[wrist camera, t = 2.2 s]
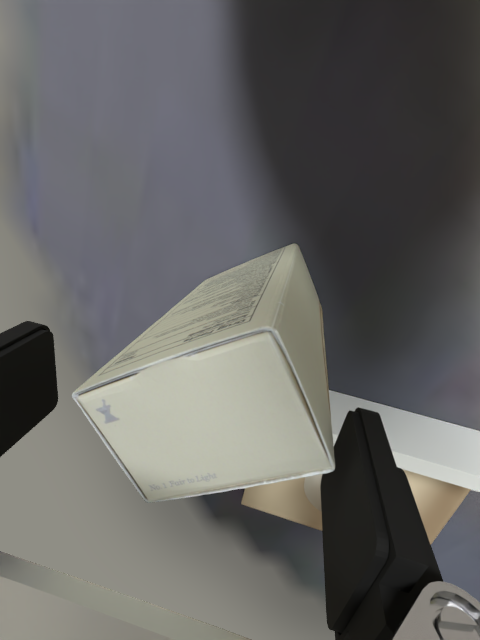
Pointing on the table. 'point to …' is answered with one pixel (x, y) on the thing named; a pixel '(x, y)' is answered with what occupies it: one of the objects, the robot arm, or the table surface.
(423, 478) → the cork pad
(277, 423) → the skincare box
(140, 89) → the table surface
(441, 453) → the acrylic wall
